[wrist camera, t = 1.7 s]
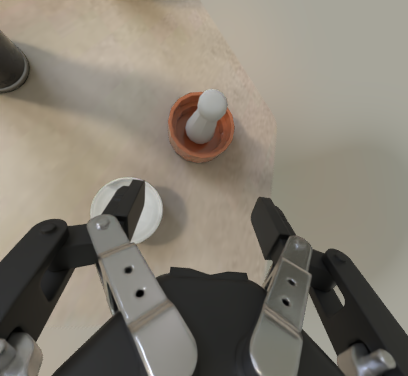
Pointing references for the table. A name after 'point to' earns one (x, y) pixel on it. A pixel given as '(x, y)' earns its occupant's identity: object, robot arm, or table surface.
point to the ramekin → (150, 212)
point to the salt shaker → (206, 116)
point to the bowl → (182, 142)
